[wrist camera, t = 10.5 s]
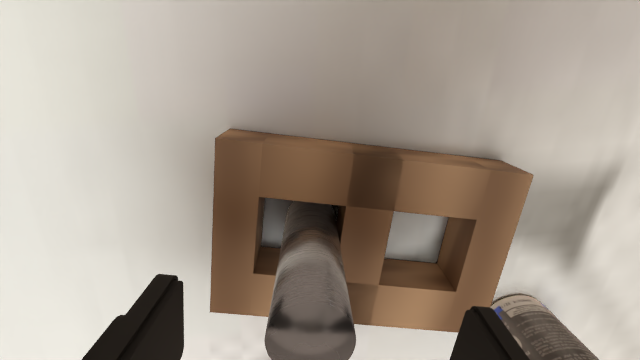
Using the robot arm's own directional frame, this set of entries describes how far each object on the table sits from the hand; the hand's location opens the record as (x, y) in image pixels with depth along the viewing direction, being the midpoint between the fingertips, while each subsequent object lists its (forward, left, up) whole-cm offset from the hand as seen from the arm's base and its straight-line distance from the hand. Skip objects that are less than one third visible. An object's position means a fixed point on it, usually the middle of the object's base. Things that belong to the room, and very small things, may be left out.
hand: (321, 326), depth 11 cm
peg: (0, +1, -10) cm, 10 cm away
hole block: (-3, +1, -10) cm, 10 cm away
